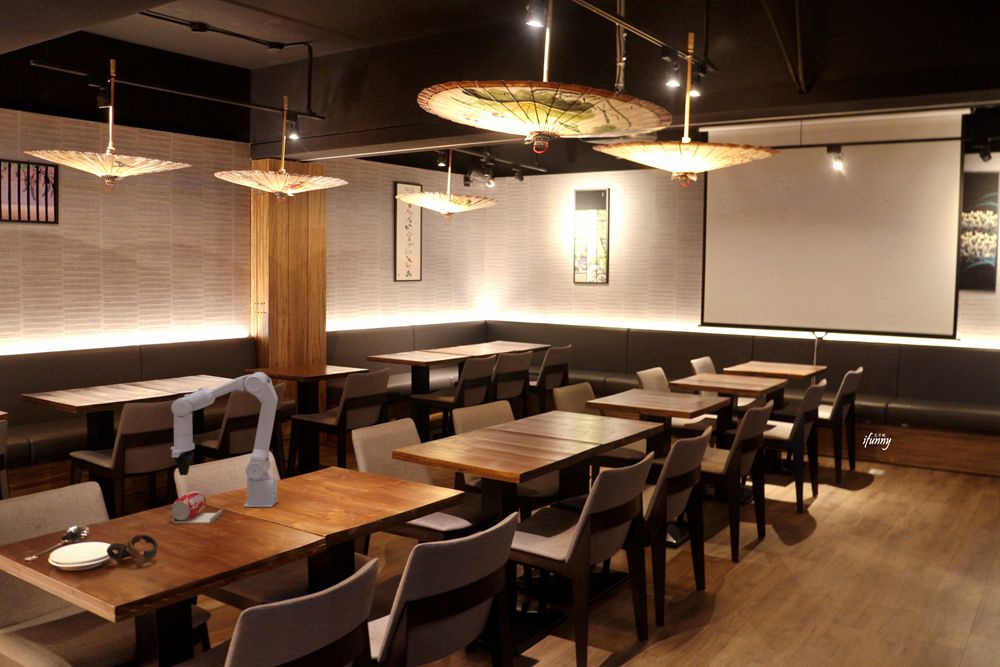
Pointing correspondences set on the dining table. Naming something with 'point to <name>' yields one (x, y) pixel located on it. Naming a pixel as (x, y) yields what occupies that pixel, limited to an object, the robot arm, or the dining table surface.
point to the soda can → (188, 505)
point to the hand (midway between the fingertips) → (183, 474)
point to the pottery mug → (133, 550)
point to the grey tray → (200, 518)
